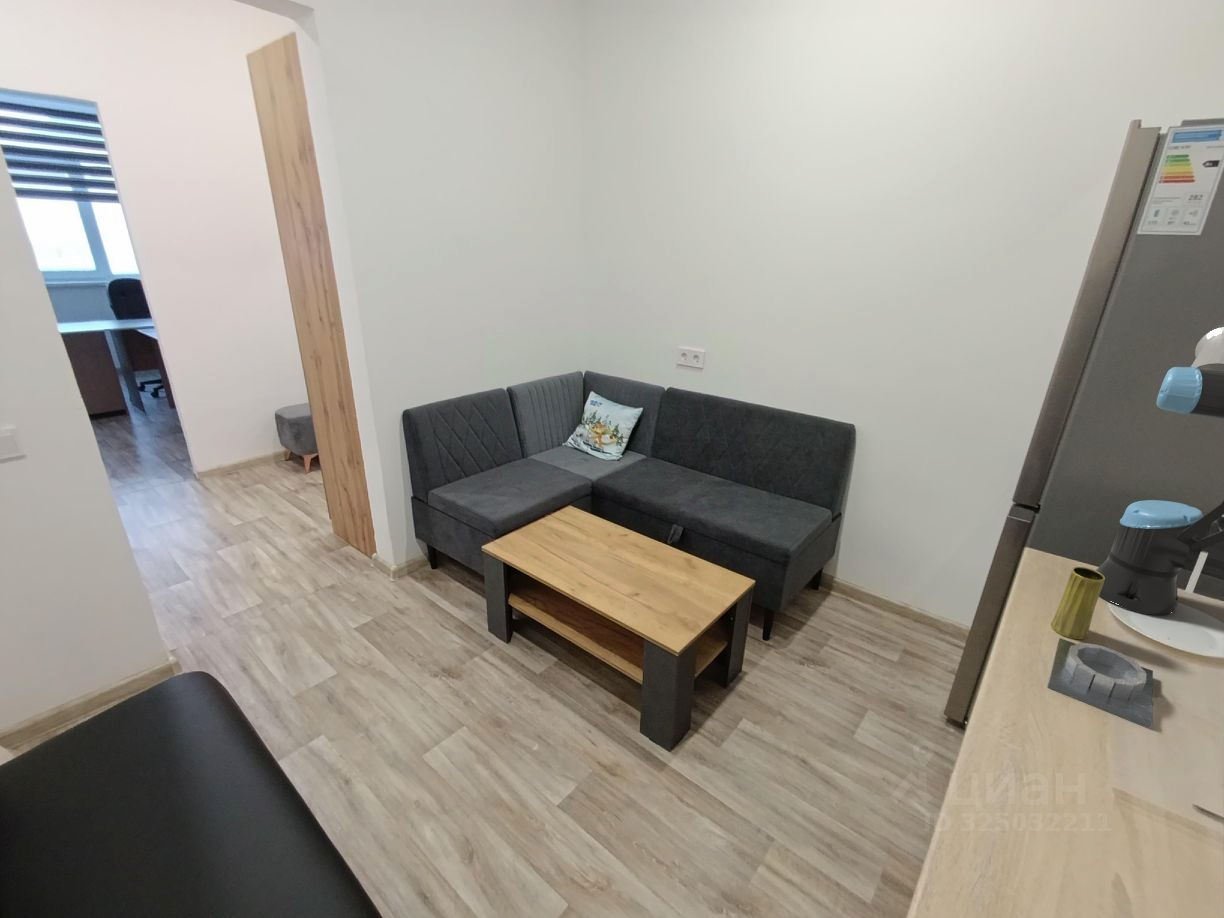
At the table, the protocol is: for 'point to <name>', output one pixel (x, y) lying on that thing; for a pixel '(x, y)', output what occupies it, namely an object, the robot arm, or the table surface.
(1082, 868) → the table surface
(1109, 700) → the collar stand
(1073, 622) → the vase
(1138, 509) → the robot arm
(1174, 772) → the table surface
